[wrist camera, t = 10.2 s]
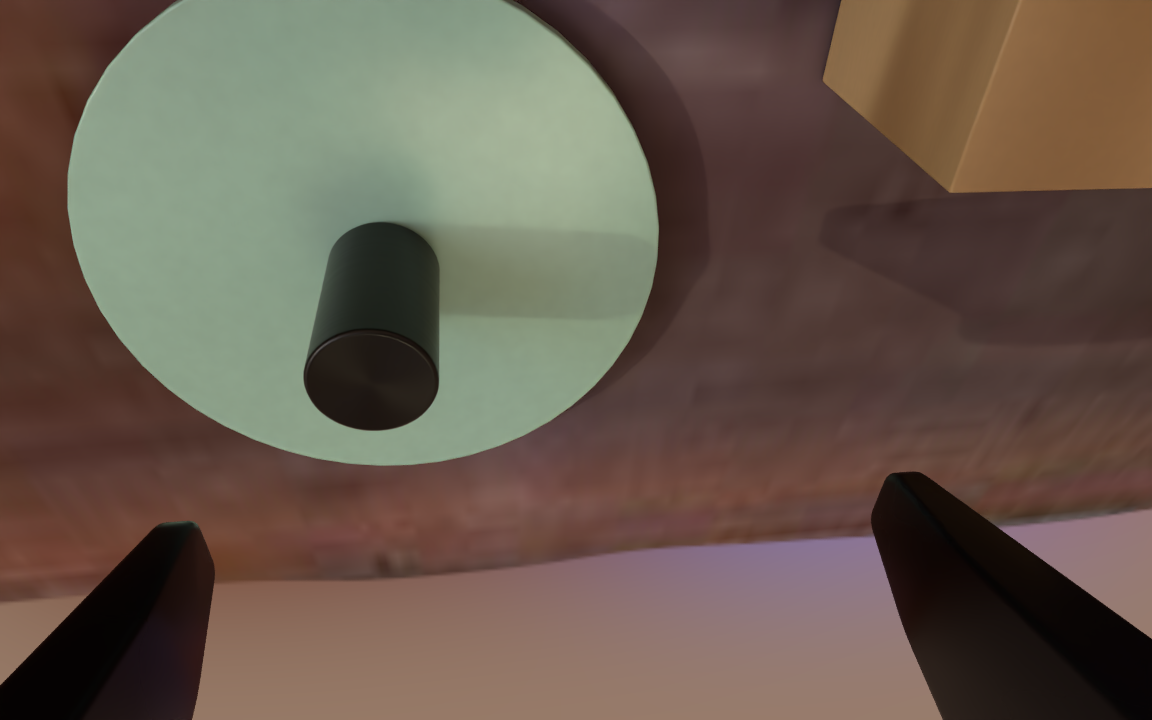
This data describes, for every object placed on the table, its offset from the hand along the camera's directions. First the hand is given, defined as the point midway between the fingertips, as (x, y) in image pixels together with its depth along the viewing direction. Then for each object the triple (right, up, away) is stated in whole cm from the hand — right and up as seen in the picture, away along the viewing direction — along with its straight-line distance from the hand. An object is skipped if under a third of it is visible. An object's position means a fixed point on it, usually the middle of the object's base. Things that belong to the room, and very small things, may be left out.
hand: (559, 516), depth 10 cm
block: (+8, +10, +6) cm, 14 cm away
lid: (-4, +4, +7) cm, 9 cm away
